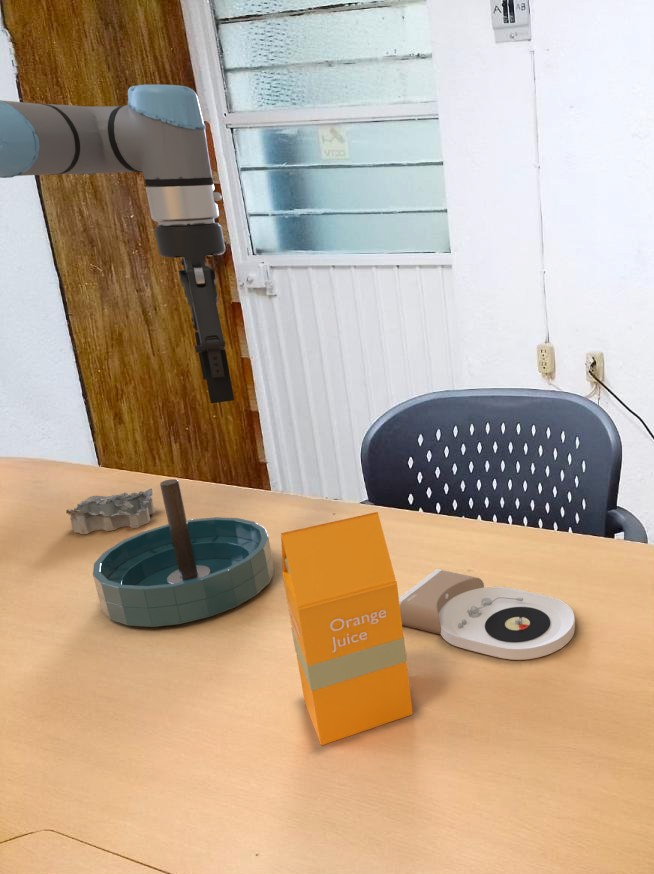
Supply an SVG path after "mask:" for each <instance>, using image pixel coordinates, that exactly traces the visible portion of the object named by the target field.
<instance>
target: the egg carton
mask: <svg viewBox="0 0 654 874" xmlns="http://www.w3.org/2000/svg"><path fill="white" fill-rule="evenodd" d="M76 505H77V506H76V507H74V508H73V509H69V508H68V509H66V510H65V513H66V515H67V514H68V515H69V516H70V522H71V527H72V529H73V530H72V531H73V533H75V534H77V533H78V534H80V535H88V534H90V533H92V532H94V531H99V530H104V531H106V532H110V531H115V530H117V529H120V528H124V527H130V528H131V529H138V528H140V527H142V526H145V525H147V524H149V523H150V522H151V517H150V515H153V514H154V513H155V512H156V510H155V506H154V501H153V488H149V489H147V490H144V491H142V490H141V491H138V492H131V493H130V494H129V493H127V492H125V491H124V492H123V493H121V494H111V495H109V496H107V495H105V496H104V495H92V496H89V497H87V498H85V499H83V500H81V501H80V503H77V504H76Z"/></svg>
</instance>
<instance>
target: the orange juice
mask: <svg viewBox="0 0 654 874" xmlns="http://www.w3.org/2000/svg"><path fill="white" fill-rule="evenodd" d="M280 540H281V541H280V542H281V559H282V579H283V585H284V591H285V597H286V603H287V608H288V614H289V618H290V619H289V620H290V624H291V627H290V629H291V633H292V639H293V646H294V650H295V654H296V660H297V666H298V671H299V675H300V676H299V678H300V682H301V683H300V684H301V688H302V694H303V699H304V700H303V701H304V704H305V706H306V707H305V708H306V709H307V711H308V715H309V717H310V720H311V723H312V725H313V728H314V730H315V733H316V736H317V738H318V741H319V744H320V746H325V745H327V744H330V743H333V742H336V741H339V740H342V739H344V738H348V737H351V736H354V735H357V734H359V733H363V732H365V731H367V730H371V729H374V728H378V727H380V726H383V725H386V724H389V723H391V722H394V721H398V720H400V719H403V718H406V717H409V716H412V715H413V714H414V712H413V705H412V704H413V703H412V697H411V687H410V680H409V671H408V663H407V662H408V660H407V659H408V658H407V650H406V642H405V637H404V629H403V625H402V621H401V613H400V604H399V597H400V596H399V590H398V589H399V588H398V581H397V579H396V576H395V572H394V568H393V564H392V560H391V557H390V556H391V555H390V553H389V549H388V547H387V546H388V545H387V541H386V538H385V535H384V530H383V526H382V522H381V519H380V515H379V511H375V512H371V513H366V514H361V515H357V516H353V517H348V518H344V519H339V520H335V521H331V522H326V523H321V524H316V525H313V526H312V525H311V526H308V527H302V528H299V529H295V530H290V531H286V532H285V531H284V532H281V533H280Z"/></svg>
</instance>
